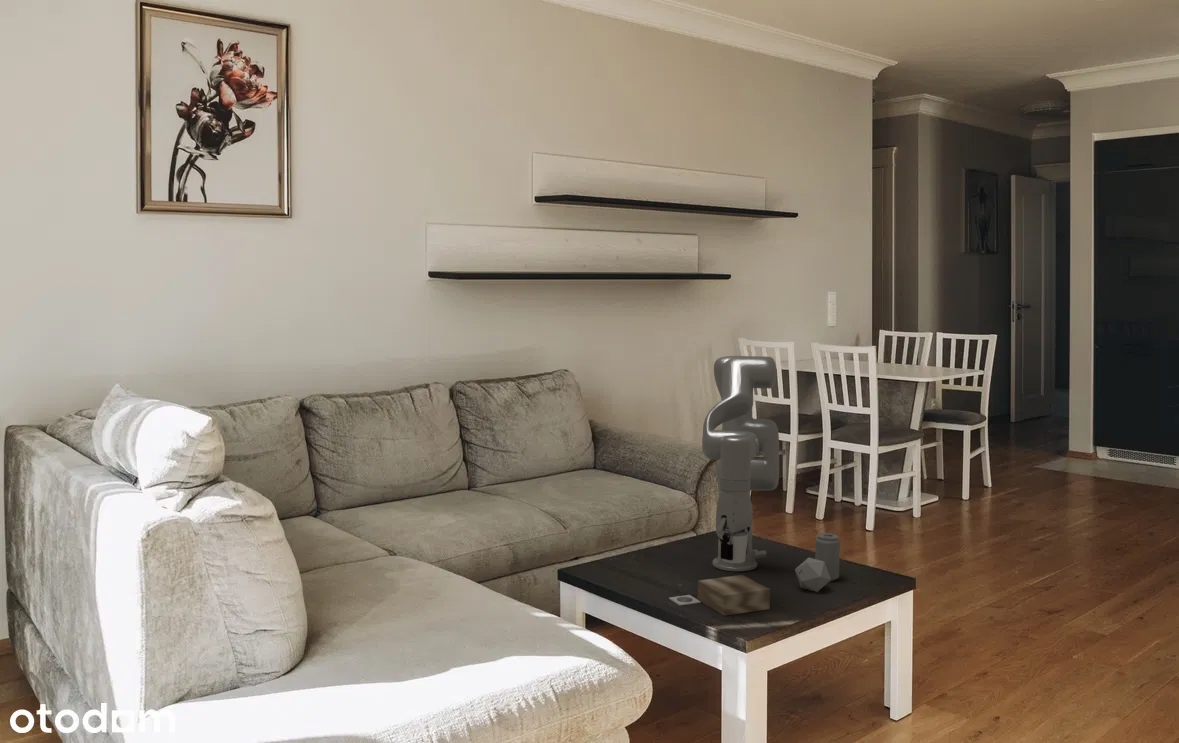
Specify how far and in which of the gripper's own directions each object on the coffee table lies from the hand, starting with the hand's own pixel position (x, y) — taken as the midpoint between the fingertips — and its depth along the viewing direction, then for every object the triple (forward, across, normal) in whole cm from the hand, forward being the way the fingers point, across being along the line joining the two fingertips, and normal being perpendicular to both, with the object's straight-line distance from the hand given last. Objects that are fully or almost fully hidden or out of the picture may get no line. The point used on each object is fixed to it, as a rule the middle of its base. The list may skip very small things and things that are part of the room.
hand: (734, 555), depth 243 cm
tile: (+13, +5, -11) cm, 17 cm away
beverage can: (+13, -35, +8) cm, 38 cm away
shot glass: (+1, 0, 0) cm, 1 cm away
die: (+13, -24, +10) cm, 29 cm away
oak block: (+13, 0, 0) cm, 13 cm away
